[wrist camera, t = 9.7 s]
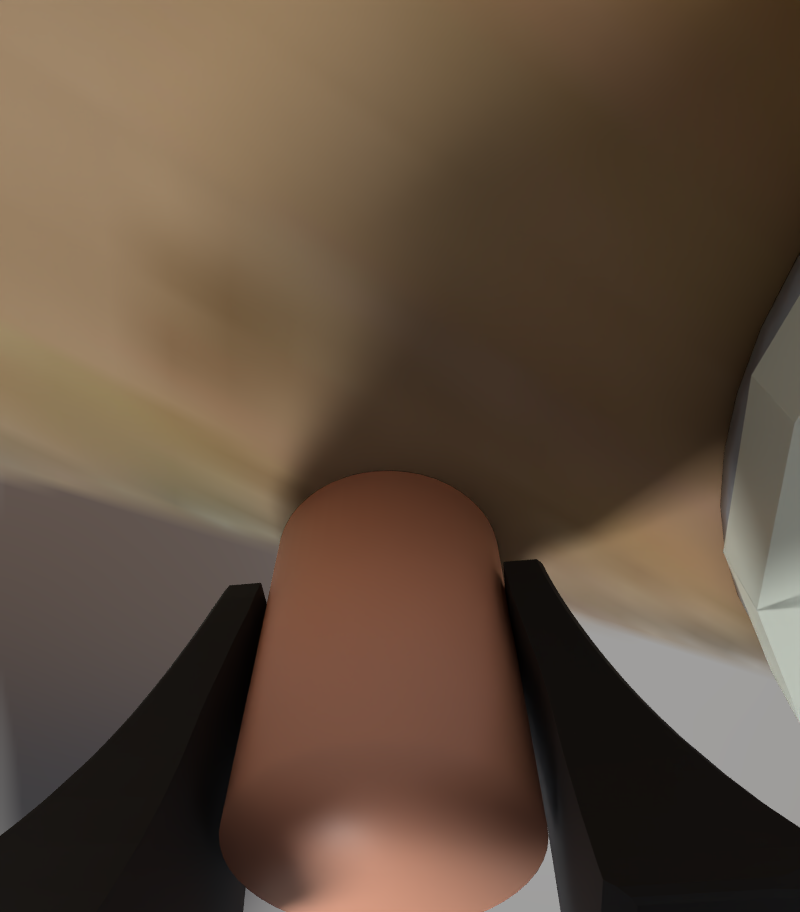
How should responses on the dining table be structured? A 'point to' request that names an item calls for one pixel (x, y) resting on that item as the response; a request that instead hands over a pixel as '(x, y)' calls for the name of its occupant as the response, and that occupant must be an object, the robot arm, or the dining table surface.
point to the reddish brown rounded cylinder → (385, 713)
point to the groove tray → (768, 489)
